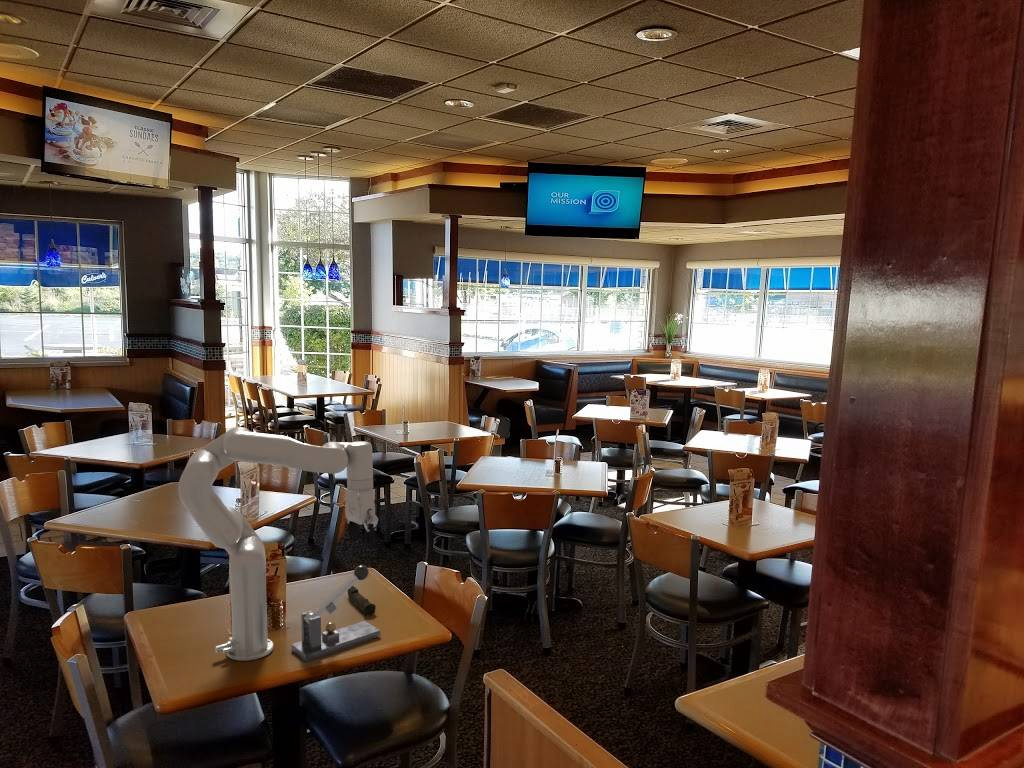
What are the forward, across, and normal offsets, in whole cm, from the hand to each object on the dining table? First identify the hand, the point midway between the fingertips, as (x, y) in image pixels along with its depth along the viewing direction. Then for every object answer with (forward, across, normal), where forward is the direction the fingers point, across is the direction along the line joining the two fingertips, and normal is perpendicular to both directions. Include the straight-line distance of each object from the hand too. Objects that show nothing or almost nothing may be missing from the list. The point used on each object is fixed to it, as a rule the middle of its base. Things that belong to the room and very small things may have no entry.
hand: (361, 539), depth 218 cm
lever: (+17, 0, -7) cm, 18 cm away
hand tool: (+30, -20, +10) cm, 38 cm away
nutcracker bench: (+30, 0, -10) cm, 31 cm away
